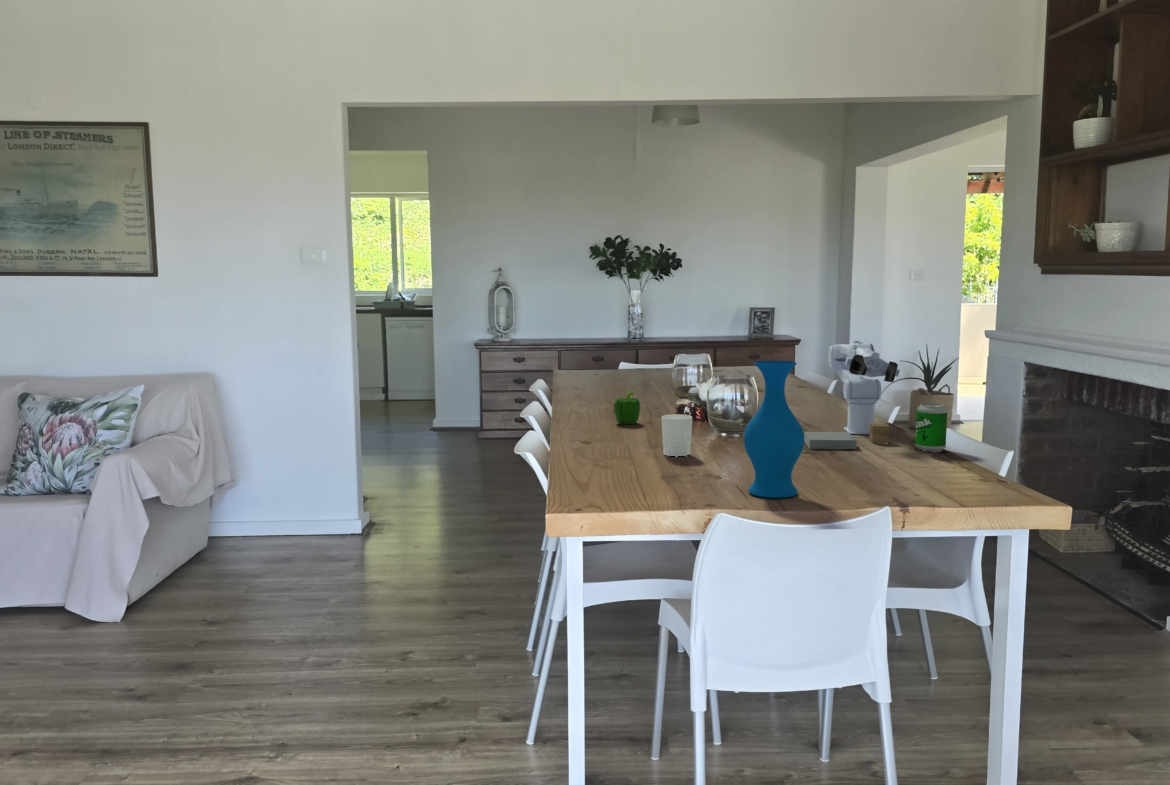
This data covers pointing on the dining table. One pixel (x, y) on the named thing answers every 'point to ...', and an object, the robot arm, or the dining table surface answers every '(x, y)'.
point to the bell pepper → (627, 409)
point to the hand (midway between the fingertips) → (878, 374)
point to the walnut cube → (879, 432)
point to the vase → (774, 436)
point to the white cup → (676, 434)
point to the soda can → (931, 427)
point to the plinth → (830, 440)
